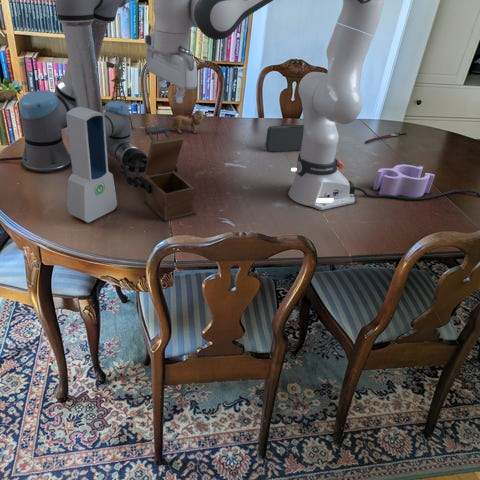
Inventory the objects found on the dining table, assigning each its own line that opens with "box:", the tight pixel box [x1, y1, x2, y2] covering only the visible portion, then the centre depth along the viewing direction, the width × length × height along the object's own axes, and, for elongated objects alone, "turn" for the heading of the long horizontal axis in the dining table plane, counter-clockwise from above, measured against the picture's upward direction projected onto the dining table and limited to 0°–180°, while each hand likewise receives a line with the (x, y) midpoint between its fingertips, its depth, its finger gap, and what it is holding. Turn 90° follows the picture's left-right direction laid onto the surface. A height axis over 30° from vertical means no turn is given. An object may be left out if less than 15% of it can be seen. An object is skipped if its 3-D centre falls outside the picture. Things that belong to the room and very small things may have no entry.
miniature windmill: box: [105, 53, 134, 129], centre depth 184 cm, size 9×8×30 cm
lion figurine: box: [168, 109, 204, 134], centre depth 195 cm, size 15×5×9 cm, turn 110°
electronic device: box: [66, 107, 118, 224], centre depth 127 cm, size 12×8×30 cm, turn 148°
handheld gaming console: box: [264, 124, 304, 152], centre depth 189 cm, size 23×3×10 cm, turn 108°
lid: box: [144, 124, 184, 177], centre depth 138 cm, size 13×10×9 cm
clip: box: [372, 164, 436, 198], centre depth 166 cm, size 20×12×7 cm, turn 109°
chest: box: [144, 171, 195, 222], centre depth 140 cm, size 13×10×9 cm
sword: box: [365, 132, 406, 144], centre depth 214 cm, size 31×3×1 cm, turn 126°
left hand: (165, 185), depth 140 cm, fingers closed on chest, 10 cm apart
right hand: (170, 98), depth 124 cm, fingers open, 6 cm apart
